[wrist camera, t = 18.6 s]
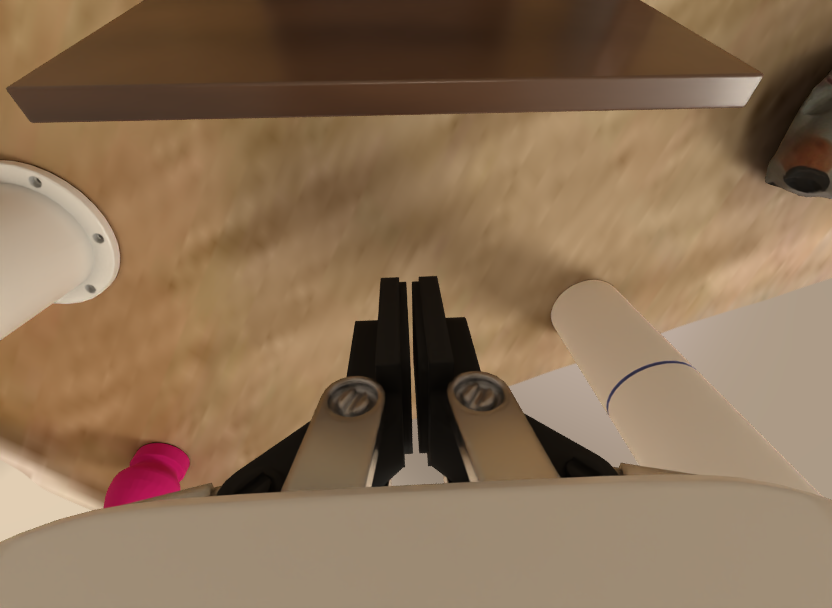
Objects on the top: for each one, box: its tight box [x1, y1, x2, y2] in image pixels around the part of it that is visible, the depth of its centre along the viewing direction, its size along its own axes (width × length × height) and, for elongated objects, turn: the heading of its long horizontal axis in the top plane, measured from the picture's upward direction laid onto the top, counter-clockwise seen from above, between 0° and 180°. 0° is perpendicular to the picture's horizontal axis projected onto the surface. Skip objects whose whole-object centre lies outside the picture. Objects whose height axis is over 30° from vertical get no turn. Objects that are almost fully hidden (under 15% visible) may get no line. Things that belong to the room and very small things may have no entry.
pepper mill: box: [104, 443, 190, 508], centre depth 41 cm, size 7×7×20 cm
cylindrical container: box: [551, 280, 823, 497], centre depth 30 cm, size 7×7×25 cm
